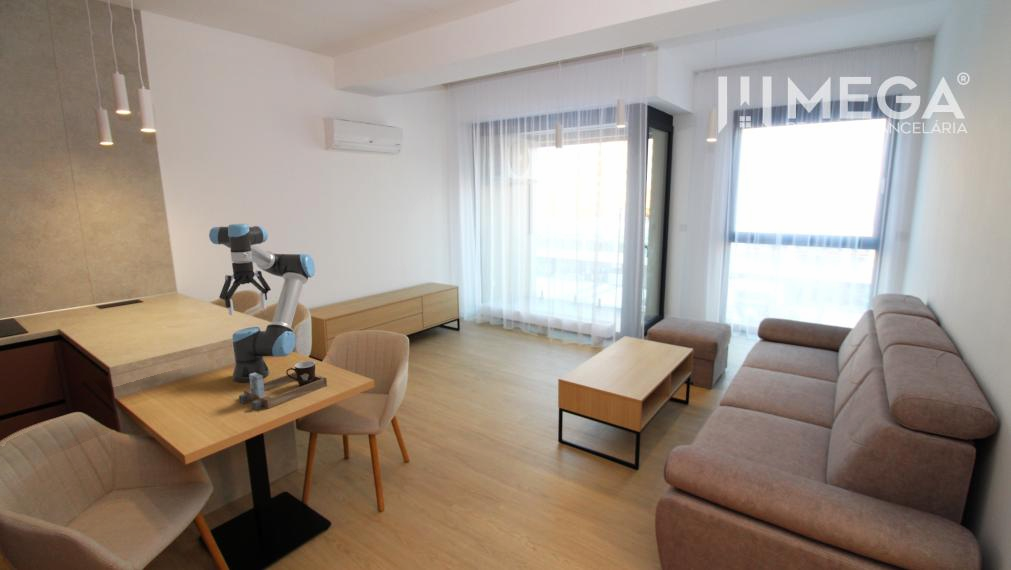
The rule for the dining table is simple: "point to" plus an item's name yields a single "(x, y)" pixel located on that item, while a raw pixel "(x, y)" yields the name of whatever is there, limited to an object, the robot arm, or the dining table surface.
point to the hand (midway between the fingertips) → (248, 311)
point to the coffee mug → (304, 372)
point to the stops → (255, 404)
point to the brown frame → (259, 387)
